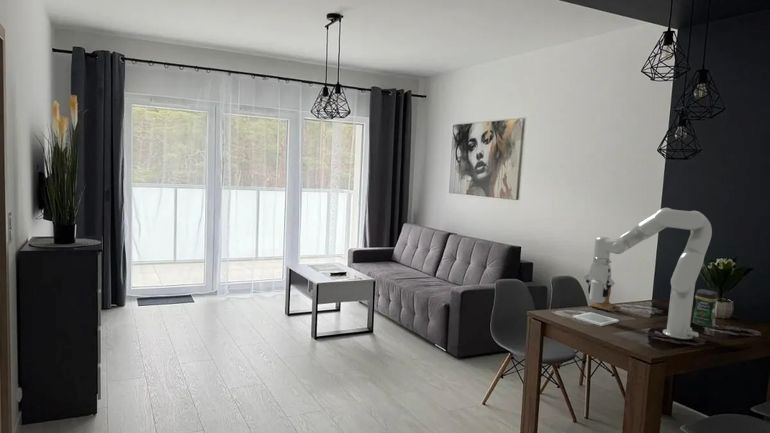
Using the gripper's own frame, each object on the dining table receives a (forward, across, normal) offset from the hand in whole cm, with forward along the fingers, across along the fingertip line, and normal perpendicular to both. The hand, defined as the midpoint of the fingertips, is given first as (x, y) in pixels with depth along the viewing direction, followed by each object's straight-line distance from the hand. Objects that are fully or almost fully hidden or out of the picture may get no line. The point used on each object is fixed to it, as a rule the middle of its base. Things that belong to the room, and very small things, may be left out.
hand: (597, 294), depth 274 cm
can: (+4, 0, 0) cm, 4 cm away
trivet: (+13, 0, 0) cm, 13 cm away
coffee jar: (+13, -33, -46) cm, 58 cm away
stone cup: (+13, +11, -25) cm, 30 cm away
